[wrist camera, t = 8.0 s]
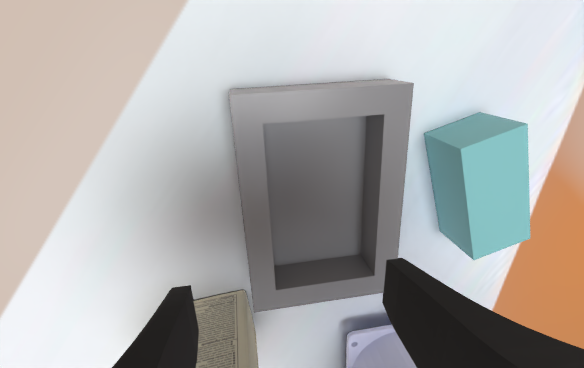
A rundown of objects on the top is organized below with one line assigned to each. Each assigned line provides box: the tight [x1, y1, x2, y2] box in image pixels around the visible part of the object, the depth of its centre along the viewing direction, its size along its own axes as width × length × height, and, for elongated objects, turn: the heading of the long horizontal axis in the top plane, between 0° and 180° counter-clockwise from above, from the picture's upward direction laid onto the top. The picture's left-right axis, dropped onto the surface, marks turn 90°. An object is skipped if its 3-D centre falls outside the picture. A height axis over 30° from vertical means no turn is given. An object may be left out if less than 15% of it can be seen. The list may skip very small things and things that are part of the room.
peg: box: [424, 112, 530, 260], centre depth 21 cm, size 8×4×4 cm, turn 19°
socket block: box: [229, 79, 414, 312], centre depth 20 cm, size 14×10×3 cm
